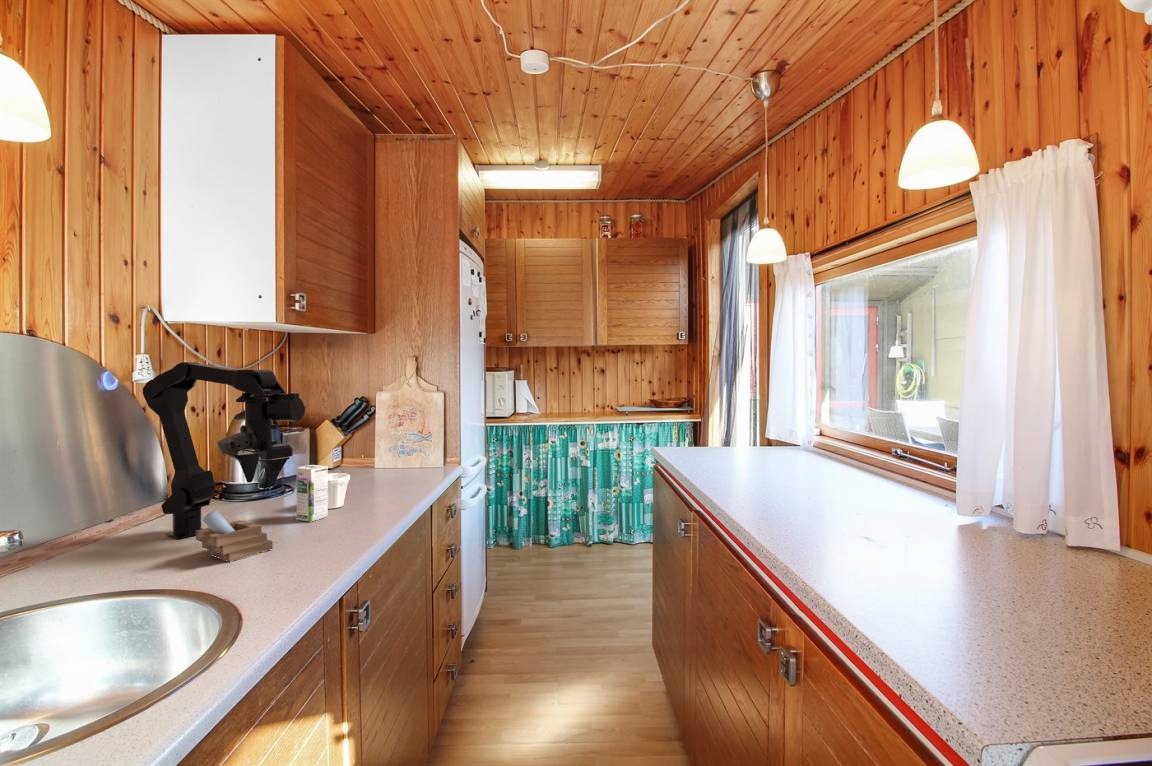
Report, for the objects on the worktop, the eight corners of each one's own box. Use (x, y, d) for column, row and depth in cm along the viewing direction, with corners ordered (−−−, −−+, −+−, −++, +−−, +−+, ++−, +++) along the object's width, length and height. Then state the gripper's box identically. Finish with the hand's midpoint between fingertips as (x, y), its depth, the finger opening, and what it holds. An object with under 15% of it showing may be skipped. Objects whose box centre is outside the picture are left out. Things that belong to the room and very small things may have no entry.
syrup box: (295, 520, 140) (294, 467, 139) (314, 514, 145) (313, 463, 145) (310, 522, 138) (310, 468, 137) (329, 516, 143) (328, 465, 143)
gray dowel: (229, 550, 114) (200, 519, 109) (241, 539, 116) (213, 509, 111) (235, 553, 113) (206, 522, 108) (247, 542, 115) (220, 512, 110)
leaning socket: (196, 558, 111) (195, 530, 111) (251, 542, 121) (250, 517, 121) (217, 566, 107) (216, 537, 107) (272, 549, 117) (272, 523, 117)
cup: (340, 511, 148) (340, 480, 148) (306, 511, 148) (306, 479, 148) (356, 502, 158) (355, 473, 158) (323, 502, 158) (323, 472, 158)
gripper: (202, 421, 123) (203, 486, 123) (244, 426, 113) (245, 496, 114) (251, 418, 132) (252, 478, 133) (293, 421, 123) (294, 486, 123)
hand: (259, 484), depth 125 cm, fingers open, 9 cm apart
